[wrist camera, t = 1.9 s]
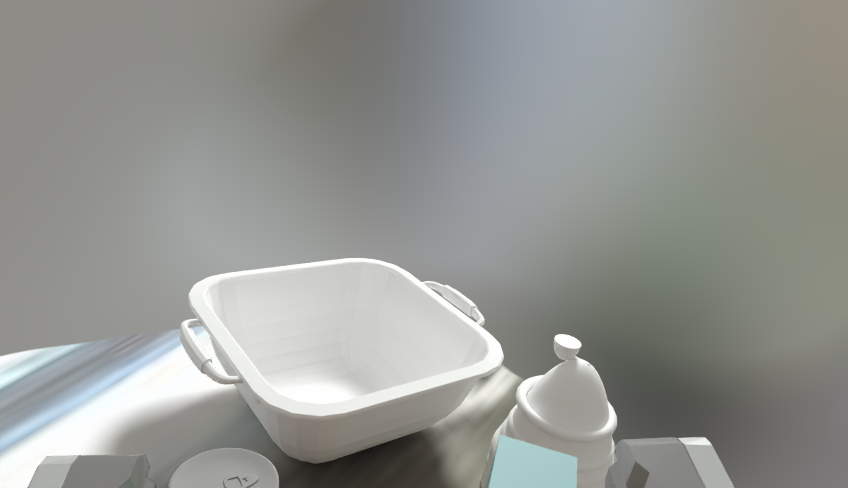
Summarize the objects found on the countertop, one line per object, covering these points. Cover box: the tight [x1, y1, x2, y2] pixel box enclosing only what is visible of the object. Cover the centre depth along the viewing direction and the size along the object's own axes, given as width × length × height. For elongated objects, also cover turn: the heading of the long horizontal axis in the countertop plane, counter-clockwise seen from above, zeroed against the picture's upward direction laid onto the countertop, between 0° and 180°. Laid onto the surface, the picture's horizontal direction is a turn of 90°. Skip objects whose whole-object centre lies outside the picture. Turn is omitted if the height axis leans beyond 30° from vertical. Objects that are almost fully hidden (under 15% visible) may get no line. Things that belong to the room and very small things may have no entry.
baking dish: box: [180, 258, 504, 464], centre depth 73 cm, size 34×28×13 cm
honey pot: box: [481, 334, 617, 488], centre depth 64 cm, size 13×13×18 cm
